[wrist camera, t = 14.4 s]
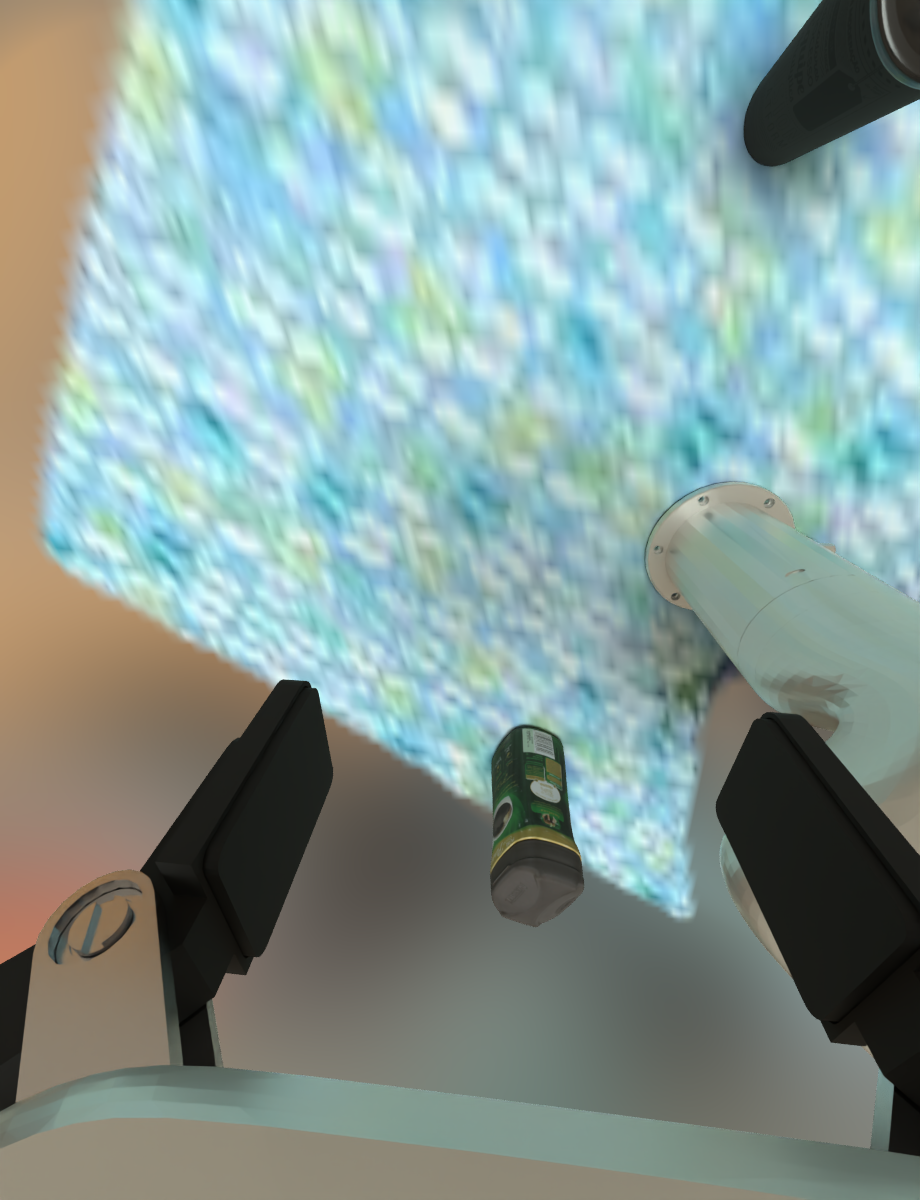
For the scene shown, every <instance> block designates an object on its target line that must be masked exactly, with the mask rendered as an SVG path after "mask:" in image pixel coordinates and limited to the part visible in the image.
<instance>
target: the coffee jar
mask: <svg viewBox="0 0 920 1200" xmlns="http://www.w3.org/2000/svg"><path fill="white" fill-rule="evenodd" d="M492 793H493V850H492V860H491V871H490V879H491V895H492V900H493V903H494V905H495V907H496V908H497V909H498V911H499V912H500V914H501V915H502V916H503V917H505V918H508V919H510V920H513V921H516V922H519V923H523V924H526V925H530V926H533V927H538V926H539V925H540V924H542V923H544V922H547V921H548V920H551V919H553V918H554V917H556V916H558V915H559V914H560V913H561V912H563V911H564V910H565V909H566V908H567V907H569V906H570V905H571V903H573V902H574V901H575V900H576V898H578V896H580V894H581V893H582V892H583V890H584V879H583V872H582V862H581V855H580V852H579V850H578V847H577V845H576V844H575V841H574V838H573V833H572V827H571V820H570V811H569V803H568V793H567V782H566V769H565V759H564V752H563V746H562V744H561V742H560V741H559V740H558V739H557V738H556V737H554V736H553V735H551V734H549V733H547V732H545V731H543V730H540V729H536V728H528V727H524V728H517V729H515V730H513V731H512V732H511V733H510V734H509V735H508V736H507V737H506V738H505V739H504V740H503V742H502V743H501V745H500V746H499V747H498V749H497V751H496V753H495V755H494V757H493V759H492Z"/></svg>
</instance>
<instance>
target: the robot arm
mask: <svg viewBox="0 0 920 1200" xmlns="http://www.w3.org/2000/svg"><path fill="white" fill-rule="evenodd" d="M701 497H702V499H701V500H699V498H701ZM698 500H699V501H698ZM765 501H766V502H765ZM656 546H658V547H657V548H656V549H654V548H655V547H656ZM835 551H836V549H835V546H834V545H833V544H830V543H817V542H815V541H813V540H812V539H810V538H808V537H807V536H805V535H803V534H802V533H800V532H798V531H797V530H795V525H794V520H793V516H792V514H791V512H790V510H789V509H788V507H787V505H786V504H785V503H784V502H783V501H782V500H781V499H780V498H779V497H778V496H776V495H775V494H773V493H772V492H770V491H769V490H767V489H764V488H762V487H760V486H758V485H754V484H750V483H745V482H725V483H718V484H713V485H710V486H707V487H704V488H701V489H699V490H697V491H695V492H693V493H691V494H689V495H687V496H685V497H684V498H682V499H681V500H680V501H678V502H677V503H675V504H674V505H673V506H672V507H671V508H670V509H669V510H668V511H667V512H666V513H665V514H664V515H663V516H662V518H661V519H660V520H659V522H658V523H657V524H656V526H655V528H654V529H653V531H652V533H651V535H650V537H649V541H648V544H647V548H646V557H645V563H646V570H647V573H648V576H649V578H650V581H651V582H652V584H653V585H654V587H655V589H656V590H657V591H658V592H659V593H660V594H661V596H662V597H663V598H665V599H666V600H667V601H669V602H670V603H672V604H674V605H677V606H679V607H681V608H685V609H689V610H693V611H694V612H695V613H696V615H697V616H698V617H699V618H700V620H701V621H702V622H703V624H704V625H705V626H706V628H707V629H708V630H709V632H710V633H711V634H712V636H713V637H714V638H715V640H716V641H717V642H718V644H719V645H720V646H721V648H722V649H723V650H724V652H725V653H726V654H727V656H728V657H729V658H730V660H731V661H732V662H733V664H734V665H735V666H736V668H737V669H738V670H739V672H740V673H741V674H742V676H743V677H744V678H745V679H746V681H747V682H748V683H749V685H750V686H751V687H752V689H753V690H754V691H755V692H756V693H757V694H758V696H759V697H760V698H761V699H762V700H763V701H764V702H766V703H767V704H768V705H769V706H771V707H772V708H773V709H775V710H776V711H778V712H780V713H774V712H767V713H765V714H763V715H762V717H761V718H760V719H756V720H754V722H753V723H752V725H751V728H750V730H749V732H748V734H747V736H746V738H745V741H744V743H743V745H742V747H741V749H740V751H739V753H738V756H737V758H736V760H735V762H734V764H733V766H732V769H731V771H730V773H729V775H728V777H727V779H726V782H725V784H724V786H723V788H722V790H721V792H720V794H719V796H718V799H717V801H716V813H717V817H718V819H719V822H720V824H721V826H722V828H723V830H724V832H725V834H724V837H723V839H722V843H721V847H720V865H721V870H722V874H723V878H724V881H725V884H726V886H727V889H728V891H729V893H730V895H731V898H732V899H733V901H734V903H735V905H736V907H737V909H738V910H739V912H740V913H741V915H742V917H743V918H744V920H745V921H746V922H747V924H748V926H749V927H750V929H751V930H752V931H753V933H754V934H755V935H756V937H757V938H758V939H759V941H760V942H761V943H762V944H763V946H764V947H765V948H766V949H767V951H768V952H769V953H770V954H771V955H772V956H773V957H774V959H775V960H776V961H777V962H778V963H779V964H780V965H781V966H782V968H783V969H784V970H785V971H786V972H787V973H788V974H789V975H790V976H791V977H792V979H793V980H794V982H795V984H796V986H797V989H798V991H799V993H800V995H801V997H802V999H803V1001H804V1003H805V1005H806V1007H807V1009H808V1010H809V1011H810V1013H811V1014H812V1015H813V1016H814V1017H815V1018H816V1019H819V1020H820V1021H821V1023H822V1025H823V1027H824V1029H825V1031H826V1033H827V1035H828V1038H829V1040H830V1041H831V1042H832V1043H841V1044H849V1045H857V1046H862V1047H863V1048H864V1049H865V1050H866V1051H867V1052H868V1053H869V1054H870V1055H871V1056H872V1057H873V1058H874V1059H875V1061H876V1063H877V1064H878V1066H879V1072H878V1082H877V1091H876V1101H875V1110H874V1119H873V1128H872V1137H871V1146H870V1149H868V1148H860V1147H853V1146H846V1145H839V1144H831V1143H824V1142H816V1141H808V1140H801V1139H794V1138H786V1137H779V1136H772V1135H764V1134H757V1133H750V1132H741V1131H735V1130H727V1129H720V1128H712V1127H705V1126H697V1125H690V1124H683V1123H675V1122H667V1121H659V1120H652V1119H644V1118H636V1117H629V1116H621V1115H613V1114H605V1113H598V1112H590V1111H583V1110H575V1109H567V1108H559V1107H552V1106H543V1105H536V1104H528V1103H521V1102H513V1101H505V1100H497V1099H489V1098H481V1097H474V1096H465V1095H458V1094H450V1093H442V1092H433V1091H426V1090H418V1089H410V1088H401V1087H393V1086H385V1085H377V1084H368V1083H361V1082H353V1081H345V1080H337V1079H329V1078H321V1077H311V1076H302V1075H292V1074H282V1073H272V1072H263V1071H252V1070H243V1069H232V1068H224V1067H223V1061H222V1055H221V1049H220V1043H219V1037H218V1031H217V1025H216V1019H215V1013H214V1007H213V1001H212V998H214V997H215V995H216V993H217V990H218V988H219V986H220V984H221V982H222V979H223V977H224V975H225V973H231V974H239V975H246V974H247V972H248V969H249V967H250V964H251V962H252V960H253V957H259V956H261V954H262V953H263V952H264V950H265V949H266V946H267V944H268V942H269V939H270V937H271V934H272V932H273V929H274V927H275V924H276V922H277V919H278V917H279V914H280V912H281V909H282V907H283V904H284V902H285V899H286V897H287V894H288V892H289V889H290V887H291V884H292V882H293V879H294V876H295V874H296V872H297V869H298V867H299V864H300V862H301V859H302V857H303V854H304V852H305V849H306V847H307V844H308V842H309V839H310V837H311V834H312V831H313V829H314V827H315V824H316V821H317V819H318V817H319V814H320V812H321V809H322V807H323V804H324V802H325V799H326V796H327V794H328V792H329V789H330V786H331V783H332V779H333V767H332V762H331V757H330V751H329V746H328V741H327V735H326V730H325V725H324V719H323V714H322V709H321V704H320V698H319V693H318V690H317V689H316V688H311V685H310V683H309V682H308V681H298V680H281V681H279V683H278V684H277V685H276V686H275V688H274V689H273V691H272V692H271V694H270V695H269V697H268V698H267V700H266V701H265V702H264V704H263V706H262V707H261V708H260V710H259V711H258V713H257V714H256V715H255V717H254V718H253V720H252V721H251V723H250V724H249V726H248V727H247V729H246V730H245V732H244V733H243V735H242V736H241V737H240V738H237V739H235V740H234V741H232V742H231V743H230V745H229V746H228V747H227V748H226V750H225V751H224V752H223V754H222V755H221V757H220V758H219V759H218V761H217V762H216V764H215V765H214V767H213V768H212V770H211V771H210V772H209V774H208V775H207V776H206V778H205V779H204V781H203V782H202V784H201V785H200V786H199V788H198V789H197V791H196V792H195V794H194V795H193V796H192V798H191V799H190V801H189V802H188V804H187V805H186V806H185V808H184V809H183V811H182V812H181V813H180V815H179V816H178V818H177V819H176V820H175V822H174V823H173V825H172V826H171V828H170V829H169V830H168V832H167V833H166V835H165V836H164V837H163V839H162V840H161V842H160V843H159V845H158V846H157V847H156V849H155V850H154V852H153V853H152V855H151V856H150V858H149V859H148V860H147V862H146V863H145V865H144V866H143V867H142V869H141V870H140V871H134V870H122V871H115V872H112V873H109V874H106V875H104V876H102V877H98V878H97V879H95V880H93V881H91V882H90V883H88V884H86V885H85V886H83V887H81V888H80V889H79V890H77V891H76V892H75V893H74V894H72V895H71V896H70V897H69V898H68V899H66V900H65V901H64V902H63V903H62V904H61V905H60V906H59V907H58V909H57V910H56V911H55V912H54V913H53V914H52V915H51V916H50V918H49V919H48V921H47V922H46V924H45V926H44V927H43V929H42V931H41V932H40V934H39V936H38V939H37V942H36V944H35V945H33V946H32V947H30V948H28V949H26V950H25V951H23V952H21V953H19V954H18V955H16V956H14V957H13V958H11V959H9V960H7V961H5V962H4V963H2V964H0V1200H920V603H919V602H917V601H915V600H914V599H912V598H910V597H909V596H907V595H905V594H904V593H902V592H900V591H898V590H897V589H895V588H893V587H892V586H890V585H888V584H886V583H885V582H883V581H881V580H880V579H878V578H876V577H875V576H873V575H871V574H869V573H868V572H866V571H864V570H863V569H861V568H859V567H858V566H856V565H854V564H852V563H851V562H849V561H847V560H846V559H844V558H842V557H841V556H839V555H837V554H836V553H835ZM673 593H674V594H673ZM812 726H814V727H817V728H822V729H826V730H830V731H834V734H833V735H832V736H831V737H830V738H829V739H828V740H827V741H826V742H824V741H823V739H822V738H821V737H820V736H819V735H818V733H817V732H816V731H815V730H814V729H813V727H812Z"/></svg>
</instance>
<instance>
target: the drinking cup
mask: <svg viewBox="0 0 920 1200" xmlns="http://www.w3.org/2000/svg"><path fill="white" fill-rule="evenodd" d="M919 99H920V0H822V2H821V3H820V4H819V6H818V7H817V8H816V10H815V11H814V12H813V14H812V15H811V16H810V18H809V19H808V20H807V22H806V23H805V24H804V26H803V27H802V28H801V30H800V31H799V32H798V34H797V35H796V36H795V38H794V39H793V40H792V42H791V43H790V44H789V46H788V47H787V48H786V50H785V51H784V52H783V54H782V55H781V56H780V58H779V59H778V60H777V62H776V63H775V64H774V66H773V67H772V68H771V70H770V71H769V72H768V74H767V75H766V76H765V78H764V79H763V80H762V82H761V83H760V85H759V86H758V88H757V89H756V91H755V93H754V95H753V97H752V99H751V101H750V103H749V106H748V109H747V112H746V117H745V123H744V138H745V144H746V147H747V150H748V152H749V153H750V155H751V156H752V158H753V159H754V160H756V161H757V162H758V163H760V164H763V165H766V166H777V165H781V164H784V163H787V162H789V161H791V160H793V159H795V158H797V157H800V156H802V155H804V154H806V153H808V152H810V151H812V150H814V149H816V148H818V147H820V146H822V145H825V144H827V143H829V142H831V141H833V140H835V139H837V138H839V137H841V136H843V135H845V134H848V133H850V132H852V131H854V130H856V129H858V128H860V127H862V126H864V125H866V124H868V123H871V122H873V121H875V120H877V119H879V118H881V117H883V116H885V115H887V114H889V113H891V112H894V111H896V110H898V109H900V108H902V107H904V106H906V105H908V104H910V103H912V102H914V101H917V100H919Z"/></svg>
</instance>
